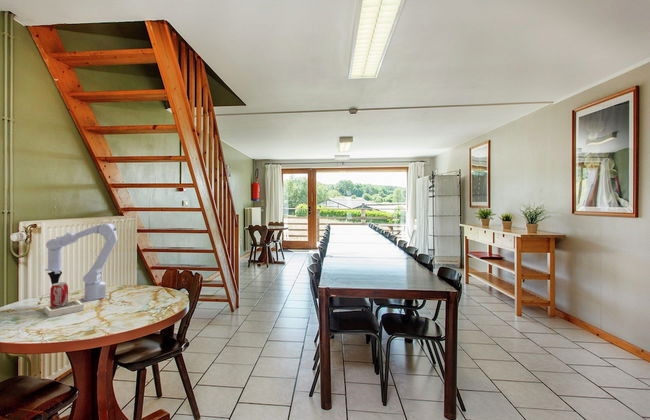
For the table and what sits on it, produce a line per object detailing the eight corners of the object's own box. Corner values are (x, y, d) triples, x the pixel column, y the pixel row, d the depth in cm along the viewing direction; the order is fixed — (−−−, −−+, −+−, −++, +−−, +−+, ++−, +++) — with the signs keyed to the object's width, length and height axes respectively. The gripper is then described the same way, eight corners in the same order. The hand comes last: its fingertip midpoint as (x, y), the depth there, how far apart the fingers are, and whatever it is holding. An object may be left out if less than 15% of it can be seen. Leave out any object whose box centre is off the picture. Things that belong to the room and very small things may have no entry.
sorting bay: (77, 305, 158) (77, 299, 158) (83, 310, 151) (83, 304, 151) (44, 311, 148) (44, 305, 148) (49, 317, 141) (49, 311, 141)
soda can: (71, 304, 159) (71, 282, 159) (55, 309, 152) (55, 285, 152) (62, 303, 161) (62, 281, 161) (46, 307, 154) (47, 284, 154)
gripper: (42, 259, 165) (42, 284, 165) (47, 263, 156) (47, 288, 156) (59, 258, 171) (59, 281, 171) (65, 261, 162) (65, 286, 162)
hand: (54, 284), depth 164 cm, fingers closed
